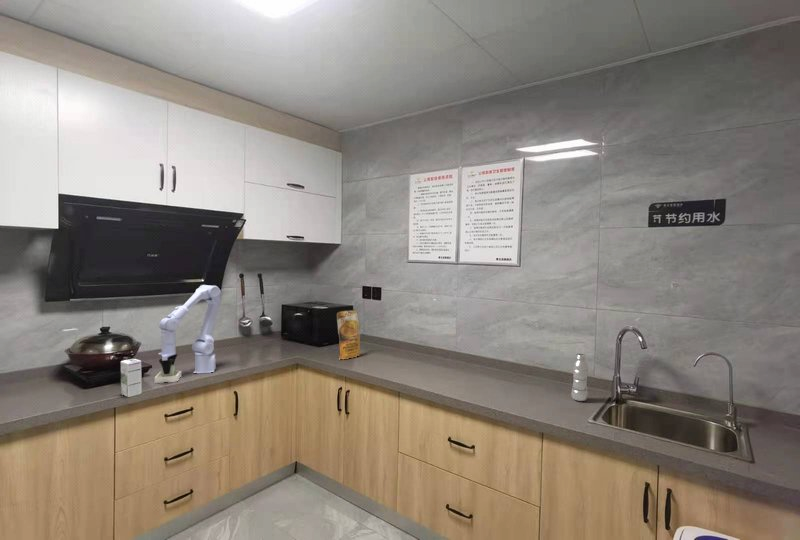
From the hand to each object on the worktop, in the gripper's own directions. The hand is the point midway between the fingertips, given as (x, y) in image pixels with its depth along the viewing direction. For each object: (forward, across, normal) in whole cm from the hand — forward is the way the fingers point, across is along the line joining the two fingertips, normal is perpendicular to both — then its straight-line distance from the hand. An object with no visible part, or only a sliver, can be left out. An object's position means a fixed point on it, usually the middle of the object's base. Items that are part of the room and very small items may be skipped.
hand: (168, 371), depth 191 cm
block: (+3, 0, 0) cm, 3 cm away
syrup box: (+4, +18, -10) cm, 21 cm away
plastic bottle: (+4, +71, +174) cm, 188 cm away
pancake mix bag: (+4, -24, +90) cm, 93 cm away
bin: (+4, 0, 0) cm, 4 cm away
